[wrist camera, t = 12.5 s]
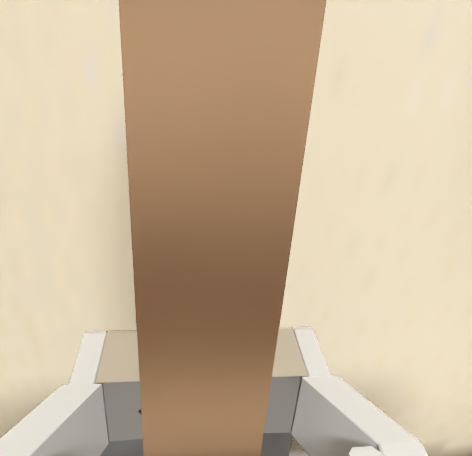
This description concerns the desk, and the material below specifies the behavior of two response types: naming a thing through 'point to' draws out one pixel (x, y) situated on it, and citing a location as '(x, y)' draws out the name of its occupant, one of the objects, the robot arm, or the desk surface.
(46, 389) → the desk surface
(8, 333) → the desk surface
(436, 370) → the desk surface
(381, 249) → the desk surface
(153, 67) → the turner
